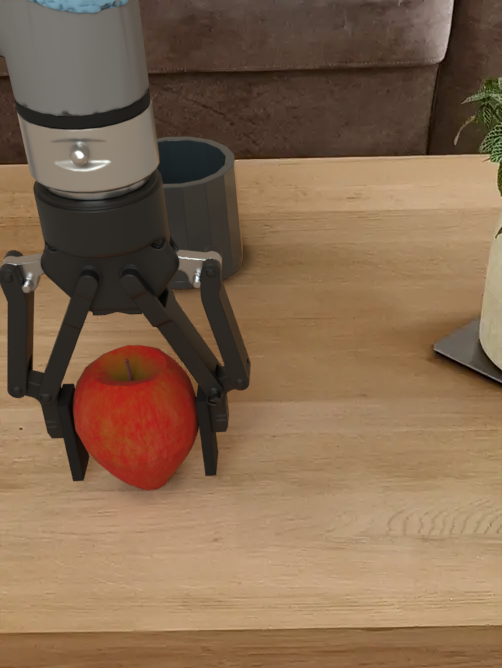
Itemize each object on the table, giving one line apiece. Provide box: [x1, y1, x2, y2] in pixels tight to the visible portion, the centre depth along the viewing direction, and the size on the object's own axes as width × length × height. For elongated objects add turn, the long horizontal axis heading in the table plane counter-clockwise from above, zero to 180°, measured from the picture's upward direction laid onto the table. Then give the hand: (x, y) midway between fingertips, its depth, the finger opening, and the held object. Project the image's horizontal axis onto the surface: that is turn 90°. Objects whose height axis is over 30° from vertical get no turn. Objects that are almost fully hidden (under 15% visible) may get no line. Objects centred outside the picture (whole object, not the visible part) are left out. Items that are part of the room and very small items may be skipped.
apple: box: [73, 344, 199, 491], centre depth 81 cm, size 9×8×11 cm
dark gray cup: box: [157, 136, 244, 290], centre depth 107 cm, size 11×11×10 cm
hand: (146, 466), depth 84 cm, fingers closed on apple, 8 cm apart
